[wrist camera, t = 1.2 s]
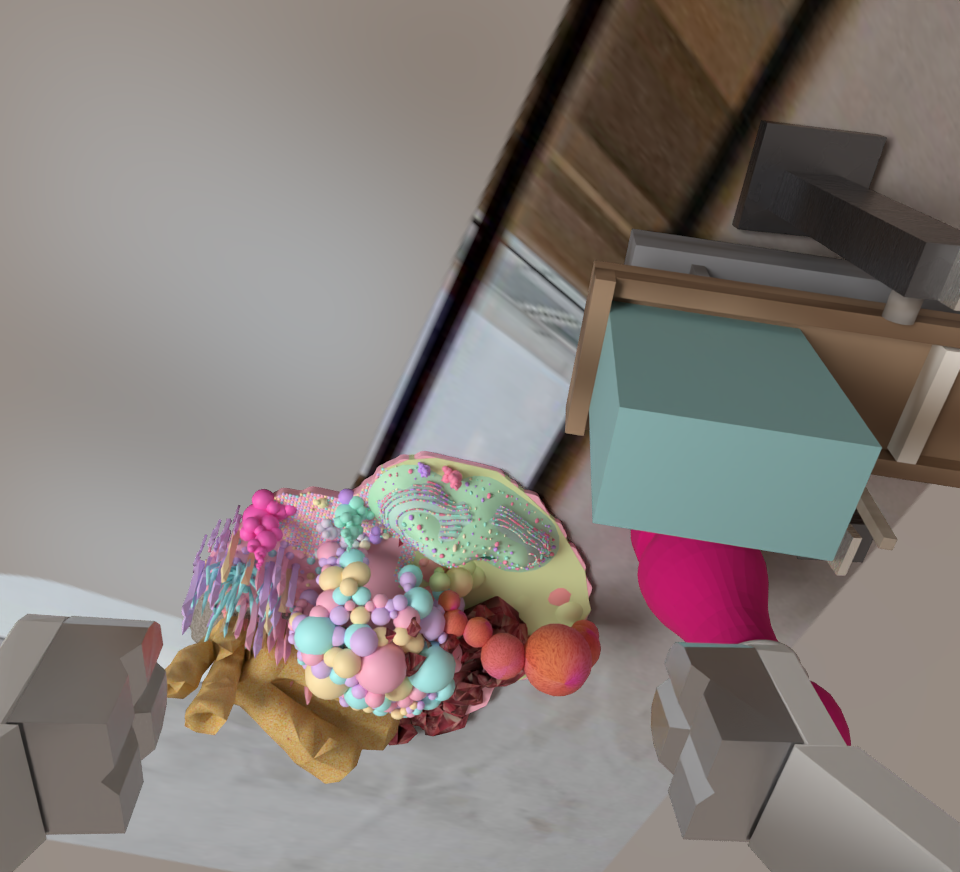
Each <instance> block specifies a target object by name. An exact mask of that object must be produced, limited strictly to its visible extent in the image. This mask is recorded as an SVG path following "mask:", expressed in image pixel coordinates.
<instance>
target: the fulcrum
mask: <svg viewBox="0 0 960 872" xmlns="http://www.w3.org/2000/svg"><path fill="white" fill-rule="evenodd" d="M886 138H887V137H884V136H881V135H877V134H869V133H861V132H852V131H844V130H836V129H828V128H820V127H812V126H803V125H795V124H787V123H779V122H771V121H762V120H761V123H760V126H759V130H758V133H757V137H756V141H755V144H754V148H753V151H752V155H751V159H750V162H749V166H748V169H747V173H746V177H745V180H744V184H743V187H742V191H741V195H740V198H739V202H738V205H737V209H736V213H735V216H734V220H733V223H732V225H733V226H734V227H736V228H737V229H742V230H752V231H761V232H771V233H780V234H790V235H799V236H809V237H812V238H813V239H815V240H816V241H818V242H819V243H821V244H823V245H824V246H826V247H827V248H829V249H830V250H832V251H833V252H835V253H837V254H838V255H840V256H841V257H843V258H844V259H846V260H847V261H849V262H851V263H852V264H854V265H855V266H857V267H858V268H860V269H861V270H863V271H864V272H866V273H868V274H869V275H871V276H872V277H874V278H875V279H877V280H878V281H880V282H882V283H883V284H885V285H886V286H888V287H889V288H891V289H892V290H894V291H896V292H897V293H899V294H900V295H902V296H903V297H908V298H918V299H928V300H938V301H939V302H941V303H943V304H944V305H946V306H948V307H949V308H951V309H953V310H955V311H960V230H958V229H956V228H954V227H952V226H950V225H947V224H945V223H943V222H941V221H939V220H936V219H934V218H932V217H930V216H928V215H925V214H923V213H921V212H919V211H917V210H914V209H912V208H910V207H908V206H906V205H903V204H901V203H899V202H897V201H894V200H892V199H890V198H888V197H886V196H883V195H881V194H879V193H877V192H875V191H872V190H870V189H869V186H870V183H871V181H872V178H873V175H874V172H875V169H876V167H877V164H878V161H879V158H880V155H881V152H882V150H883V147H884V144H885V141H886ZM872 540H873V537H872V535H871V534H870V532H869V530H868V528H867V526H866V525H865V523H864V521H863V519H862V518H861V516H860V514H859V512H858V510H857V509H855V511H854V514H853V516H852V518H851V520H850V523H849V525H848V527H847V530H846V532H845V534H844V537H843V539H842V541H841V543H840V546H839V548H838V550H837V553H836V555H835V557H834V560H833V561H827V560H826V561H827V562H828V564H829V565H830V567H831V568H832V569H833V571H834V572H835V574H836V575H840V576H846V574H847V571H848V569H849V567H850V565H851V562H863V560H864V558H865V556H866V553H867V551H868V549H869V547H870V545H871V543H872ZM797 558H798V559H810V560H821V559H814V558H808V557H802V556H797Z"/></svg>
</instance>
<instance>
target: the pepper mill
mask: <svg viewBox="0 0 960 872" xmlns="http://www.w3.org/2000/svg"><path fill="white" fill-rule="evenodd" d="M631 541H632V546H633V548H634V551H635V553H636V556H637V559H638V561H639V566H638V582H639V587H640V590H641V593H642V595H643V597H644V599H645V601H646V603H647V605H648V607H649V608H650V609H651V611H652V612H653V613H654V615H655V616H656V617H657V618H658V619H659V620H660V621H661V622H662V623H663V624H664V625H665V626H666V627H667V628H669V629H670V630H672V631H673V632H674V633H676V634H677V635H678V636H680V637H681V638H682V639H683V640H684V641H685V642H688V643H719V644H744V645H748V644H761V645H785V644H783V643H780V642H778V640H777V639H776V636H775V634H774V632H773V629H772V627H771V623H770V619H769V614H768V584H769V582H768V574H767V568H766V563H765V561H764V558H763V556H762V553H761V551H760V550H758V549H752V548H746V547H740V546H733V545H727V544H721V543H715V542H709V541H702V540H696V539H690V538H684V537H677V536H671V535H665V534H659V533H653V532H646V531H640V530H634V529H631ZM785 646H787V645H785ZM787 647H788V646H787ZM788 648H789V649H791V648H790V647H788ZM791 650H792V649H791ZM792 651H793V650H792ZM793 653H794V654H795V656H796V658H797V659H798V661H799V663H800V665H801V662H800V659H799V657H798V656H797V654H796V653H795V652H794V651H793ZM801 666H802V665H801ZM802 668H803V670H804V672H805V673H806V675H807V677H808V679H809V676H808V673H807V671H806V670H805V668H804V667H803V666H802ZM810 682H811V684H812V686H813V687H814V689H815V691H816V693H817V694H818V696H819V698H820V699H821V701H822V703H823V705H824V706H825V708H826V710H827V712H828V713H829V715H830V717H831V719H832V720H833V722H834V724H835V726H836V727H837V729H838V731H839V733H840V734H841V736H842V738H843V739H844V741H845V743H846V745H847V746H851V740H850V733H849V728H848V725H847V723H846V721H845V718H844V716H843V713H842V711H841V709H840V707H839V706H838V705H837V703H836V702H835V700H834V699H833V697H832V696H831V695H830V694H829V693H828V692H827V691H826V690H824V689H823V688H822V687H820V686H819V685H817V684H816V683H814V682H812V681H810Z"/></svg>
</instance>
